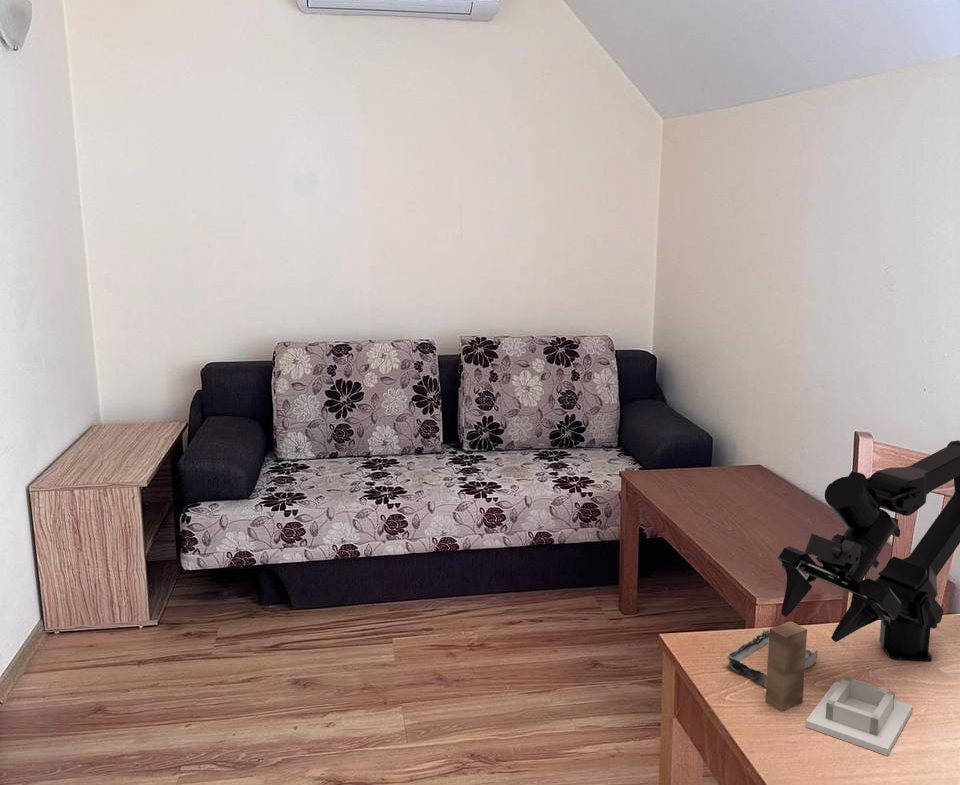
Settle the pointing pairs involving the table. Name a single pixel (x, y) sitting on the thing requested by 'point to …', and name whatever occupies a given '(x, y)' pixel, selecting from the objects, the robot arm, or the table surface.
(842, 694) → the white recessed tray
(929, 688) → the table surface
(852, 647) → the table surface
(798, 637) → the walnut block
